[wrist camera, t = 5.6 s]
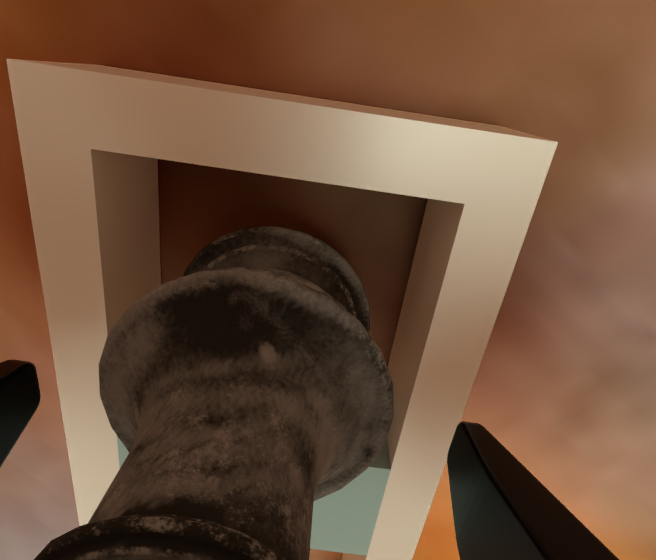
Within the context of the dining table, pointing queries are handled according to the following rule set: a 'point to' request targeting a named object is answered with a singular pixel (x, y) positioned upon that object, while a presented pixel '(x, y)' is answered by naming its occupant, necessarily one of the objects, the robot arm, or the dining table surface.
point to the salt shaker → (237, 404)
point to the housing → (290, 162)
